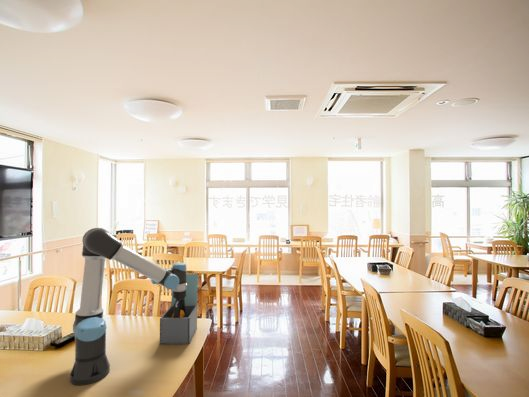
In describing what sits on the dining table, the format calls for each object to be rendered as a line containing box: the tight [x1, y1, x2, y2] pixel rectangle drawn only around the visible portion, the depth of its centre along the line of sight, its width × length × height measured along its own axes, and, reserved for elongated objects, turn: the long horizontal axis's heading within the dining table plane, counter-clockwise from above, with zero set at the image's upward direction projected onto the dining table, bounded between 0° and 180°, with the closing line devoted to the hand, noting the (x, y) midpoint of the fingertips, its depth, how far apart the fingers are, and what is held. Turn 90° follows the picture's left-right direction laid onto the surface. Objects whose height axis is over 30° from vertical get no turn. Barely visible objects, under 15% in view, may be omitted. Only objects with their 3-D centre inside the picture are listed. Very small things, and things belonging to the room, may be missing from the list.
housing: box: [159, 304, 198, 346], centre depth 164 cm, size 20×16×14 cm
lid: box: [170, 273, 199, 306], centre depth 176 cm, size 19×16×1 cm
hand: (179, 329), depth 164 cm, fingers closed on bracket, 9 cm apart
